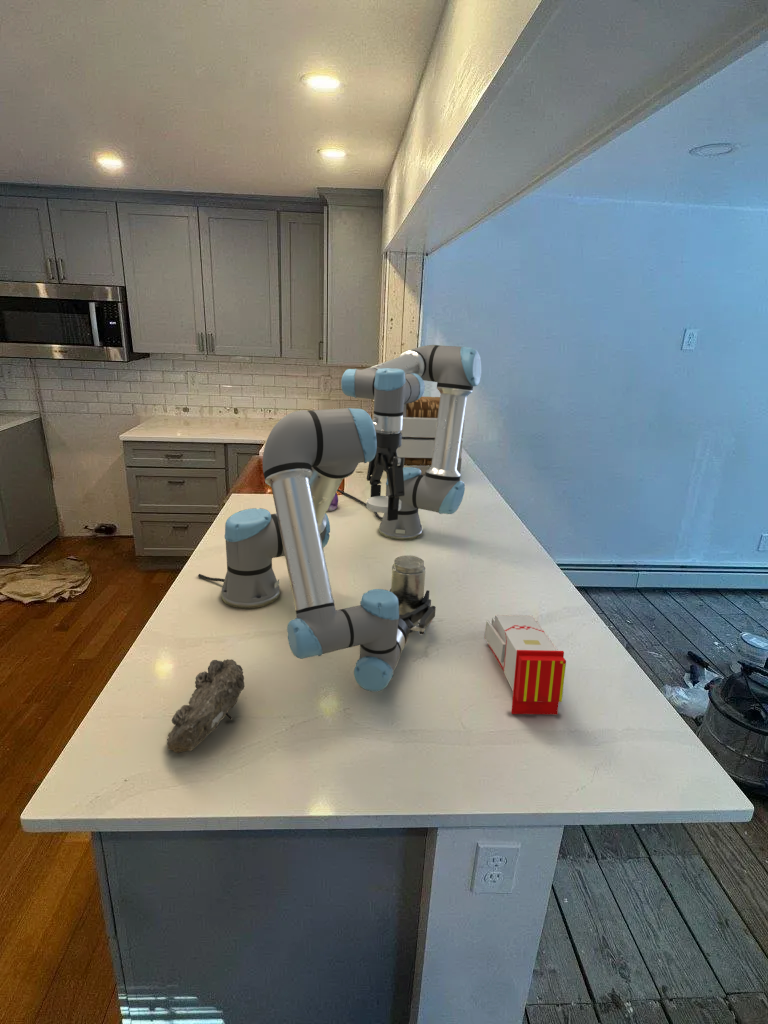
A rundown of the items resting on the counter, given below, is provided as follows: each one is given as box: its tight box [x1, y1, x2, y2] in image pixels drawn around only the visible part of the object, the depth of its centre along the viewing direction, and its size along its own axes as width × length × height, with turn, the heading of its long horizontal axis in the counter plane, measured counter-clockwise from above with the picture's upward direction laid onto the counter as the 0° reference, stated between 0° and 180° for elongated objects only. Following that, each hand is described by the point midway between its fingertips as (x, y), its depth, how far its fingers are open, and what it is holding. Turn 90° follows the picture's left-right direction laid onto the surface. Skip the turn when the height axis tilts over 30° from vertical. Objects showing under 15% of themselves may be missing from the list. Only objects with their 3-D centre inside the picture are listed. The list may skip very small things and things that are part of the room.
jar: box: [390, 555, 426, 625], centre depth 141 cm, size 8×8×17 cm
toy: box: [484, 614, 567, 716], centre depth 124 cm, size 12×13×30 cm
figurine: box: [327, 492, 339, 512], centre depth 219 cm, size 9×10×15 cm
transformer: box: [390, 396, 465, 475], centre depth 268 cm, size 34×33×41 cm
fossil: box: [166, 658, 245, 754], centre depth 106 cm, size 22×10×15 cm
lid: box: [365, 495, 401, 514], centre depth 151 cm, size 9×9×2 cm
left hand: (410, 592), depth 146 cm, fingers closed on jar, 8 cm apart
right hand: (383, 513), depth 152 cm, fingers closed on lid, 9 cm apart
